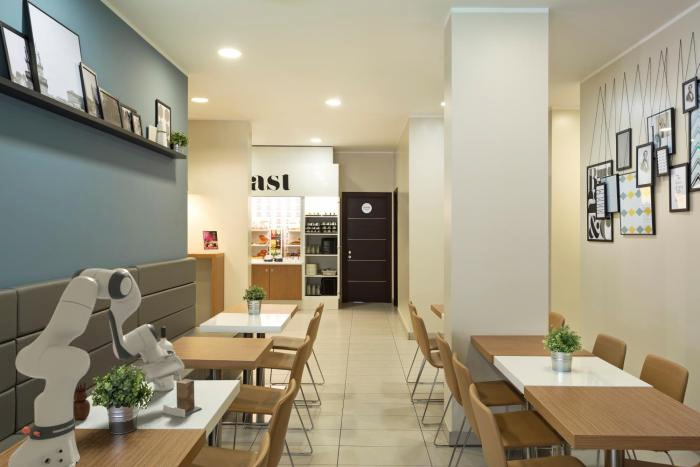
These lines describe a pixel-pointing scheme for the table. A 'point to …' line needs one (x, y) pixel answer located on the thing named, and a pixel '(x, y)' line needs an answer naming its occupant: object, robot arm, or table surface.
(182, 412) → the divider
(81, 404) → the wooden figurine
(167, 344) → the vodka
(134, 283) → the robot arm
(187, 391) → the walnut block
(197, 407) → the coaster
